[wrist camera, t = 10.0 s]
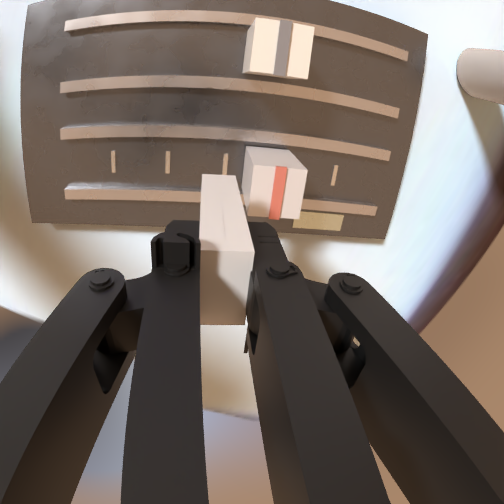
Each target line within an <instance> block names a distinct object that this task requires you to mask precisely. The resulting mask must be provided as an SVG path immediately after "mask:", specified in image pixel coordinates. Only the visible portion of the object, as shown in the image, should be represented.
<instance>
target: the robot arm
mask: <svg viewBox="0 0 504 504" xmlns="http://www.w3.org/2000/svg"><path fill="white" fill-rule="evenodd" d="M151 256H152V272H151V273H149V274H148V275H146V276H143V277H140V278H136V279H131V280H125V279H124V275H122V274H121V273H120V272H119V271H117V270H114V269H109V268H100V269H95V270H93V271H90V272H88V273H86V274H85V275H84V276H82V277H81V278H80V279H79V281H78V282H77V283H76V284H75V285H74V286H73V288H72V289H71V290H70V291H69V292H68V294H67V295H66V296H65V297H64V298H63V300H62V301H61V302H60V303H59V305H58V306H57V307H56V308H55V310H54V311H53V312H52V313H51V315H50V316H49V317H48V318H47V320H46V321H45V322H44V323H43V325H42V326H41V328H40V329H39V330H38V331H37V333H36V334H35V335H34V337H33V338H32V339H31V341H30V342H29V343H28V345H27V346H26V347H25V349H24V350H23V352H22V353H21V354H20V356H19V357H18V359H17V360H16V361H15V363H14V364H13V366H12V367H11V369H10V370H9V371H8V373H7V374H6V376H5V377H4V379H3V380H2V382H1V383H0V504H71V501H72V499H73V496H74V493H75V491H76V488H77V486H78V483H79V480H80V478H81V476H82V473H83V471H84V468H85V466H86V463H87V461H88V459H89V456H90V454H91V451H92V449H93V447H94V444H95V442H96V440H97V437H98V435H99V433H100V430H101V428H102V426H103V423H104V421H105V419H106V417H107V414H108V412H109V410H110V408H111V406H112V403H113V401H114V399H115V397H116V395H117V392H118V390H119V388H120V386H121V384H122V381H123V380H124V378H125V375H126V373H127V371H128V369H129V367H130V365H131V363H132V361H133V359H134V357H135V362H134V369H133V376H132V383H131V390H130V398H129V406H128V414H127V424H126V433H125V444H124V456H123V470H122V487H121V504H209V500H208V488H207V476H206V463H205V447H204V430H203V409H202V384H201V347H200V325H245V319H246V315H247V321H248V328H247V334H246V341H245V348H244V353H247V352H248V351H249V358H250V364H251V370H252V377H253V383H254V389H255V395H256V402H257V408H258V414H259V420H260V426H261V432H262V437H263V444H264V450H265V455H266V461H267V467H268V473H269V479H270V484H271V490H272V495H273V501H274V504H391V503H390V501H389V499H388V496H387V493H386V489H385V487H384V484H383V481H382V478H381V475H380V472H379V469H378V466H377V464H376V461H375V458H374V455H373V452H372V449H371V447H370V444H371V446H372V447H373V449H374V450H375V452H376V453H377V455H378V456H379V458H380V459H381V461H382V462H383V464H384V465H385V467H386V468H387V469H388V471H389V472H390V474H391V476H392V477H393V479H394V480H395V482H396V483H397V485H398V486H399V487H400V489H401V491H402V492H403V494H404V495H405V497H406V498H407V500H408V501H409V503H410V504H504V432H503V431H502V430H501V429H500V427H499V426H498V425H497V424H496V423H495V421H494V420H493V419H492V418H491V417H490V415H489V414H488V413H487V412H486V410H485V409H484V408H483V407H482V405H481V404H480V403H479V402H478V401H477V400H476V398H475V397H474V396H473V395H472V394H471V393H470V391H469V390H468V389H467V388H466V387H465V386H464V384H463V383H462V382H461V381H460V380H459V379H458V378H457V376H456V375H455V374H454V373H453V372H452V371H451V370H450V369H449V368H448V366H447V365H446V364H445V363H444V362H443V361H442V360H441V359H440V357H439V356H438V355H437V354H436V353H435V352H434V351H433V350H432V349H431V347H430V346H429V345H428V344H427V343H426V342H425V341H424V340H423V339H422V338H421V337H420V336H419V335H418V333H417V332H416V331H415V330H414V329H413V328H412V327H411V326H410V325H409V324H408V323H407V322H406V321H405V320H404V319H403V318H402V317H401V316H400V314H399V313H398V312H397V311H396V310H395V309H394V308H393V307H392V306H391V305H390V304H389V303H388V302H387V301H386V300H385V299H384V298H383V297H382V296H381V295H380V294H379V293H378V292H377V291H376V290H375V289H374V288H373V287H372V286H371V285H370V284H369V283H368V282H367V281H366V280H364V279H363V278H361V277H359V276H357V275H355V274H350V273H337V274H334V275H332V276H331V277H330V279H329V282H328V284H324V283H319V282H315V281H311V280H307V279H305V278H304V277H303V274H302V272H301V270H300V269H299V268H298V266H296V265H295V264H293V263H291V262H289V261H288V260H287V257H286V255H285V252H284V250H283V247H282V245H281V244H280V240H279V238H278V235H277V232H276V230H275V229H274V228H273V227H272V226H271V225H270V224H268V223H267V222H247V219H246V215H245V211H244V207H243V204H242V200H241V196H240V192H239V188H238V184H237V180H236V176H234V175H214V174H202V186H201V205H200V221H193V220H173V221H171V222H170V223H169V224H168V225H167V226H166V229H165V232H163V233H160V234H158V235H157V236H155V237H154V238H153V239H152V241H151ZM354 336H355V338H356V339H357V340H358V341H359V343H360V346H357V345H356V344H355V343H354V342H353V339H354ZM135 354H136V356H135ZM369 443H370V444H369Z"/></svg>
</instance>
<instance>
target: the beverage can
mask: <svg viewBox="0 0 504 504" xmlns="http://www.w3.org/2000/svg"><path fill="white" fill-rule="evenodd" d="M457 76H458V80H459V82H460V84H461V86H462V87H463V89H464V90H465V91H466V92H467V93H468V94H469V95H471V96H473V97H476V98H480V99H484V100H488V101H491V102H495V103H499V104H502V105H504V51H501V50H490V49H476V48H469V49H466V50H464V51H463V52H462V53H461V54H460V56H459V58H458V61H457Z"/></svg>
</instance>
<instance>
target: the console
mask: <svg viewBox="0 0 504 504" xmlns="http://www.w3.org/2000/svg"><path fill="white" fill-rule="evenodd" d="M256 17H257V18H265V19H272V20H279V21H280V20H288V21H292V23H297V24H302V25H307V26H312V27H315V28H314V36H313V43H312V51H311V59H310V66H309V73H308V79H286V78H279V77H272V76H264V75H255V74H245V73H242V72H243V63H244V55H245V46H246V38H247V31H248V29H249V28H250V26H251V25H252V23H253V22H254V20H255V18H256ZM427 40H428V34H426V33H424V32H421V31H419V30H417V29H414V28H412V27H409V26H407V25H404V24H402V23H399V22H397V21H394V20H391V19H389V18H386V17H383V16H380V15H377V14H374V13H371V12H368V11H365V10H362V9H359V8H355V7H352V6H348V5H345V4H341V3H337V2H333V1H330V0H45V1H41V2H38V3H34V4H31V5H28V9H27V16H26V23H25V31H24V40H23V51H22V66H21V133H22V148H23V160H24V170H25V178H26V186H27V193H28V200H29V206H30V212H31V218H32V223H74V224H110V225H139V226H165V227H166V226H167V225H168V224H169V223H170V222H171V221H173V220H193V221H200V205H201V186H202V174H214V175H234V176H236V180H237V184H238V188H239V192H240V196H241V200H242V204H243V207H244V211H245V215H246V219H247V222H267V223H268V224H270V225H271V226H272V227H273V228H274V229H275V230H276V232H286V233H302V234H318V235H334V236H348V237H363V238H376V239H385V236H386V233H387V230H388V227H389V223H390V220H391V217H392V213H393V210H394V206H395V203H396V199H397V195H398V192H399V188H400V184H401V180H402V176H403V172H404V168H405V164H406V160H407V156H408V152H409V147H410V143H411V138H412V133H413V129H414V124H415V119H416V113H417V108H418V103H419V97H420V91H421V85H422V78H423V72H424V64H425V57H426V49H427ZM246 146H253V147H264V148H274V149H284V150H289V151H290V152H291V153H292V154H293V155H294V156H295V157H296V158H297V159H298V160H299V161H300V162H301V163H302V164H303V166H304V167H305V168H306V169H307V170H308V172H307V177H306V183H305V189H304V194H303V200H302V205H301V211H300V216H299V219H288V218H279V220H275V219H269V218H268V217H257V216H248V215H247V210H246V205H245V201H244V196H243V191H242V178H243V168H244V159H245V150H246Z"/></svg>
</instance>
